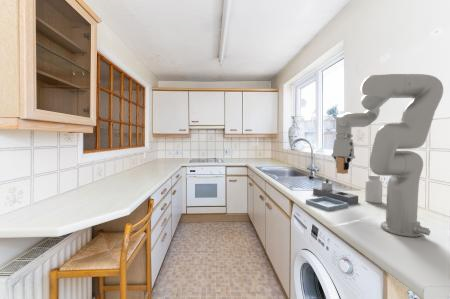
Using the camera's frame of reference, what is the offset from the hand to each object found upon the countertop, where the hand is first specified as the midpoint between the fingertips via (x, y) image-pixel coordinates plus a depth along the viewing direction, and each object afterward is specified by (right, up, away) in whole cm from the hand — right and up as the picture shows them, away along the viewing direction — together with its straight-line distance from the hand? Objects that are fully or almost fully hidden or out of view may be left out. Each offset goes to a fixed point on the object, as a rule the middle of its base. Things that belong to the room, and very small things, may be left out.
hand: (342, 168), depth 124 cm
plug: (0, -2, 0) cm, 2 cm away
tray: (-13, -19, -7) cm, 24 cm away
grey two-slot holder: (-2, -19, +6) cm, 20 cm away
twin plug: (-4, -18, +10) cm, 21 cm away
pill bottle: (+18, -19, +1) cm, 26 cm away
